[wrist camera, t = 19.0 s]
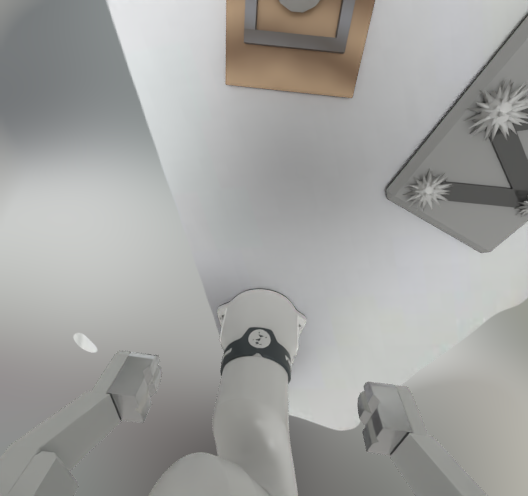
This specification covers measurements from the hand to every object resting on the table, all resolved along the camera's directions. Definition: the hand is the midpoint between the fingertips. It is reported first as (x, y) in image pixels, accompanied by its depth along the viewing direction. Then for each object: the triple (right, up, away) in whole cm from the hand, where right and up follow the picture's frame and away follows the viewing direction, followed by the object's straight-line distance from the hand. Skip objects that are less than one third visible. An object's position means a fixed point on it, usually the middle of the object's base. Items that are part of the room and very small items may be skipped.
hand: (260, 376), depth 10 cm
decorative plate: (+35, +20, +26) cm, 48 cm away
